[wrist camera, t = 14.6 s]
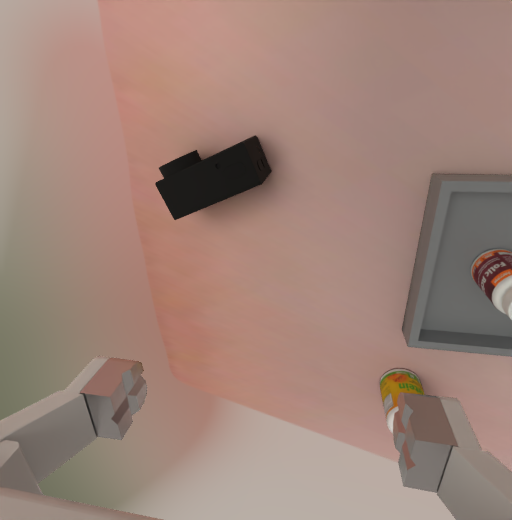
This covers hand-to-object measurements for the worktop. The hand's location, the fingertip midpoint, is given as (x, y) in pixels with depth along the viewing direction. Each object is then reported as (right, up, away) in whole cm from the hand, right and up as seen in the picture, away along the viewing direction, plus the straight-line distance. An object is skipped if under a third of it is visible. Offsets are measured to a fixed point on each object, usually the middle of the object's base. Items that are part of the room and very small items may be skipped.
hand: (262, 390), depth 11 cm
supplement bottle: (+20, -13, +37) cm, 44 cm away
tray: (+26, +4, +28) cm, 39 cm away
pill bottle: (+26, +3, +27) cm, 38 cm away
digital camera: (-4, +15, +29) cm, 33 cm away
